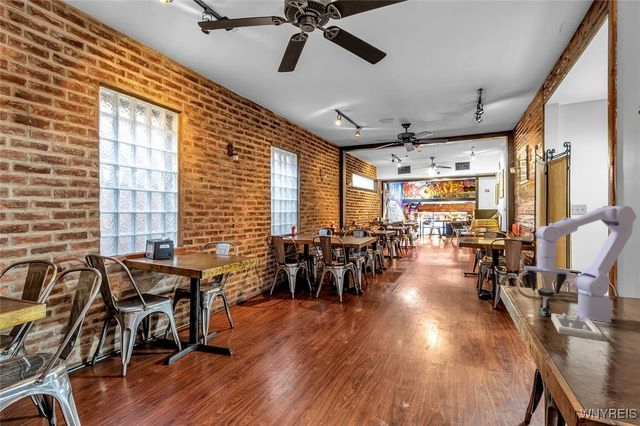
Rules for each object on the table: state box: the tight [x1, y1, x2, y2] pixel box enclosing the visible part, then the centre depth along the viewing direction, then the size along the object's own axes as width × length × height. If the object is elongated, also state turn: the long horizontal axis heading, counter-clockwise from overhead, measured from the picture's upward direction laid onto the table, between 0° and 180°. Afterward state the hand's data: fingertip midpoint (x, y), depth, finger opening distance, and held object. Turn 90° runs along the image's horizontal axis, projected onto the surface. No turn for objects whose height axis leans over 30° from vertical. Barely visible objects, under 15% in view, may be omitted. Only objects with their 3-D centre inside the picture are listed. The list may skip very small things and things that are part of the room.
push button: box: [537, 287, 555, 317], centre depth 126 cm, size 7×5×10 cm
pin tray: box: [550, 312, 603, 341], centre depth 112 cm, size 11×16×3 cm
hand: (545, 291), depth 126 cm, fingers open, 7 cm apart
